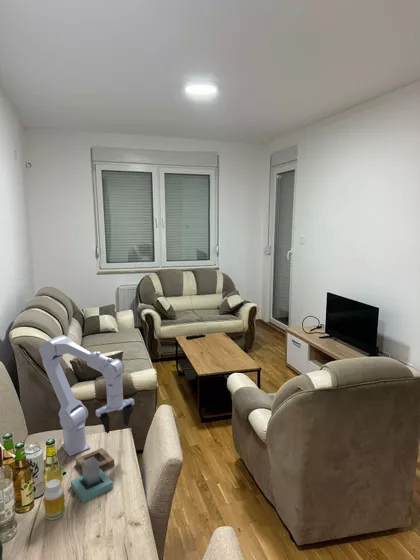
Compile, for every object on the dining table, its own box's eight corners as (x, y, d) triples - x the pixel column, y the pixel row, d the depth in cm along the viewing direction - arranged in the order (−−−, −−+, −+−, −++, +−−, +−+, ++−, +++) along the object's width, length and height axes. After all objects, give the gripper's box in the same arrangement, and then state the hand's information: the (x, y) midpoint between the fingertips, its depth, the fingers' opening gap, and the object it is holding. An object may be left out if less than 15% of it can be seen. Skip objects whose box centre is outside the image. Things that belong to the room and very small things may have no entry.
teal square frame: (70, 486, 124) (70, 480, 123) (99, 473, 130) (99, 468, 130) (83, 502, 116) (82, 496, 116) (113, 487, 123) (112, 482, 122)
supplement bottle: (65, 517, 110) (62, 486, 109) (45, 522, 108) (42, 491, 107) (65, 505, 115) (62, 475, 114) (45, 510, 113) (43, 480, 112)
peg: (83, 487, 123) (81, 461, 122) (95, 481, 126) (93, 456, 125) (88, 493, 120) (86, 466, 119) (100, 487, 123) (98, 461, 122)
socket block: (76, 463, 136) (75, 458, 136) (102, 453, 142) (102, 448, 142) (87, 477, 128) (87, 471, 128) (114, 464, 135) (114, 459, 135)
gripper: (100, 402, 130) (103, 439, 132) (137, 390, 140) (139, 425, 141) (92, 396, 136) (94, 432, 137) (128, 385, 145) (130, 418, 147)
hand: (116, 428), depth 140 cm, fingers open, 7 cm apart
